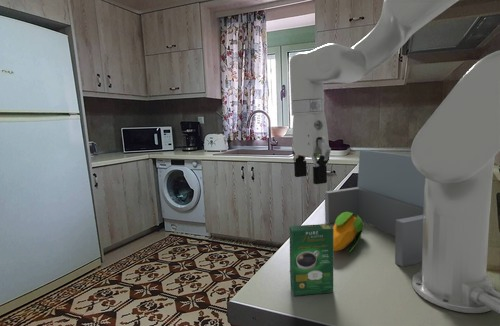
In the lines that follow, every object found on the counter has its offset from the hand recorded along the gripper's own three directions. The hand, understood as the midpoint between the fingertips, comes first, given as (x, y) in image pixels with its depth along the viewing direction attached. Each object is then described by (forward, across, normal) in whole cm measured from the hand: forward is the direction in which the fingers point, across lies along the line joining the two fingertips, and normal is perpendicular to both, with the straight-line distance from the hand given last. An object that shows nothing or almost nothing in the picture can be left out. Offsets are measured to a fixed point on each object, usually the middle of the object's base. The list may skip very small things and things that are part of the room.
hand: (309, 179), depth 71 cm
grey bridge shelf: (+18, 0, -19) cm, 27 cm away
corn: (+19, -1, -9) cm, 21 cm away
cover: (+2, +1, -26) cm, 26 cm away
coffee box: (+18, -16, +8) cm, 26 cm away
